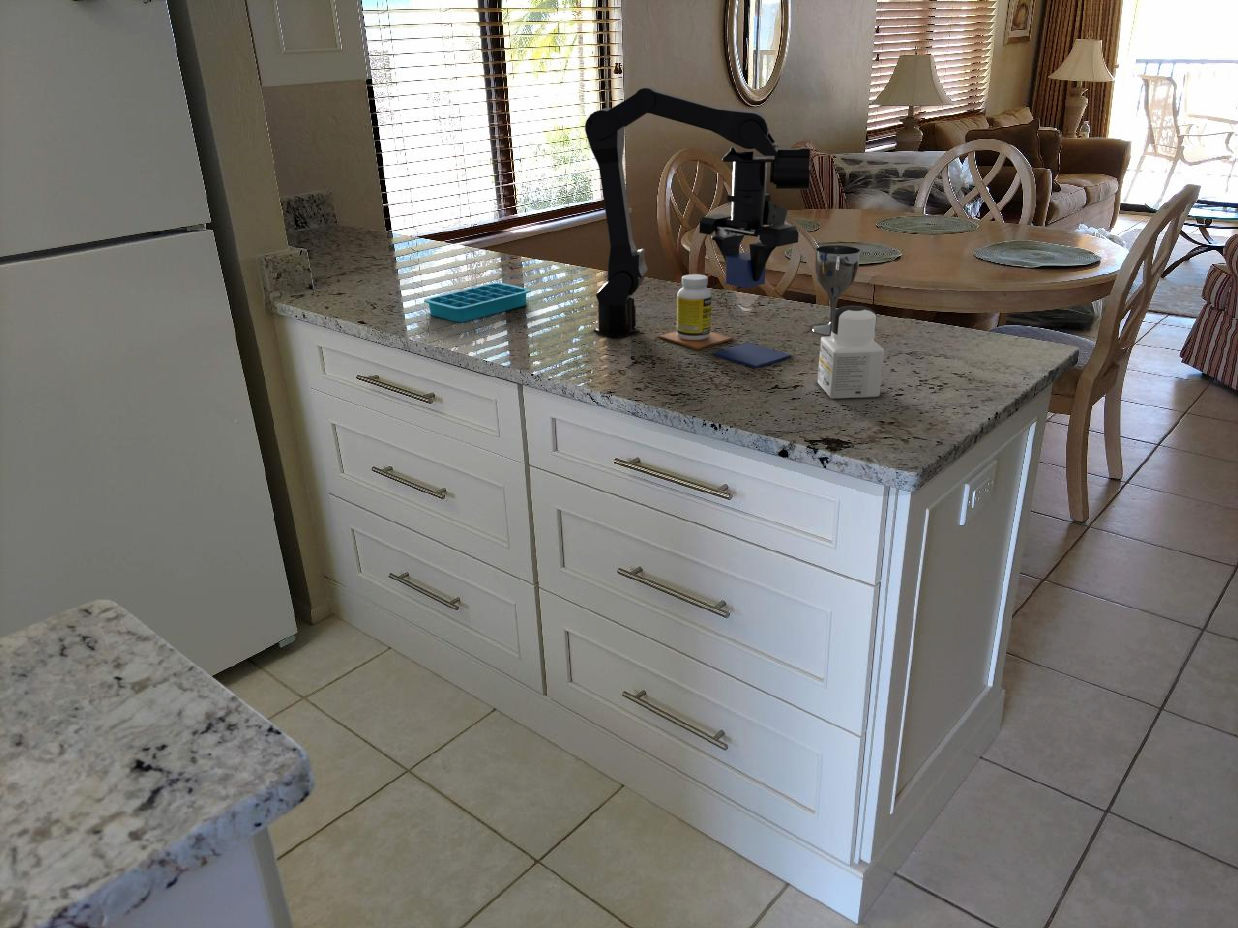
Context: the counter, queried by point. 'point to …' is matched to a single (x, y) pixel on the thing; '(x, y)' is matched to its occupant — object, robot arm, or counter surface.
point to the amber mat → (696, 344)
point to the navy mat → (752, 355)
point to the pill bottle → (694, 308)
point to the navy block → (741, 271)
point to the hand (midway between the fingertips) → (745, 278)
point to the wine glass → (835, 275)
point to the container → (851, 355)
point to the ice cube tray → (477, 301)
